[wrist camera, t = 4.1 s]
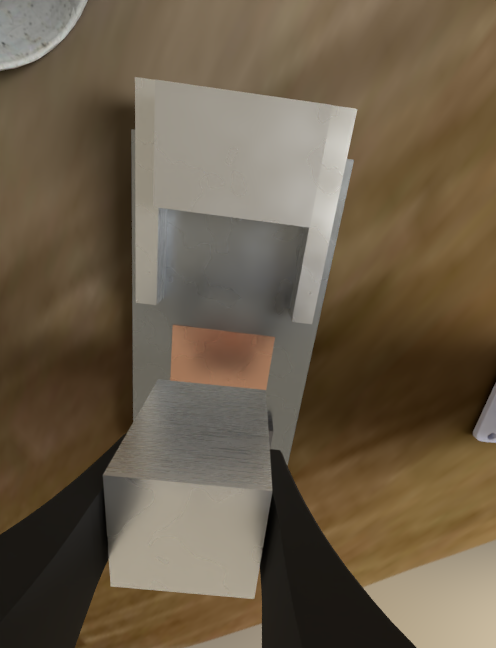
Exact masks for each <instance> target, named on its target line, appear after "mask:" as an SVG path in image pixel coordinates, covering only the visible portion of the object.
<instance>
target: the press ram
mask: <svg viewBox="0 0 496 648" xmlns="http://www.w3.org/2000/svg"><path fill="white" fill-rule="evenodd" d="M332 106H333V105H329V104H322V103H315V102H308V101H301V100H294V99H287V98H280V97H273V96H266V95H259V94H252V93H245V92H238V91H231V90H224V89H217V88H210V87H203V86H196V85H189V84H182V83H175V82H169V81H162V80H155V118H154V180H153V207H157V208H165V209H172V210H180V211H187V212H195V213H203V214H210V215H218V216H225V217H233V218H240V219H248V220H256V221H263V222H271V223H278V224H286V225H294V226H301V227H309V228H310V224H311V219H312V213H313V208H314V202H315V197H316V192H317V186H318V181H319V175H320V170H321V165H322V159H323V154H324V149H325V143H326V138H327V132H328V127H329V122H330V116H331V111H332Z"/></svg>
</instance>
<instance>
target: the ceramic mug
mask: <svg viewBox="0 0 496 648" xmlns="http://www.w3.org/2000/svg"><path fill="white" fill-rule="evenodd" d="M87 1H88V0H0V71H3V70H8V69H16V68H18V67H21V66H23V65H26V64H29V63H32V62H34V61H36V60H38V59H40V58H41V57H43V56H44V55H46V54H47V53H49V52H50V51H52V50H53V49H54V48H55V47H56V46H57V45H58V44H59V43H60V42H61V41H62V40H63V39H64V38H65V37H66V36H67V35H68V34H69V32H70V31H71V30H72V29H73V27H74V26H75V24H76V22H77V21H78V19H79V18H80V16H81V14H82V12H83V10H84V8H85V5H86V3H87Z"/></svg>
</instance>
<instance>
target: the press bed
mask: <svg viewBox="0 0 496 648" xmlns="http://www.w3.org/2000/svg"><path fill="white" fill-rule="evenodd" d="M356 113H357V109H354V108H347V107H340V106H332V111H331V116H330V122H329V127H328V132H327V138H326V143H325V149H324V154H323V159H322V165H321V170H320V175H319V181H318V186H317V192H316V197H315V202H314V208H313V213H312V219H311V224H310V228H309V227H301V226H294V225H286V224H278V223H271V222H263V221H256V220H248V219H240V218H233V217H225V216H218V215H210V214H203V213H195V212H187V211H180V210H172V209H165V208H157V207H153V180H154V118H155V80H152V79H145V78H138V77H135V130H134V129H131V155H132V316H133V422H134V420H135V418H136V417H137V415H138V413H139V411H140V410H141V408H142V406H143V404H144V403H145V401H146V399H147V398H148V396H149V394H150V392H151V391H152V389H153V387H154V385H155V384H156V382H157V380H158V379H160V380H170V381H180V382H190V383H200V384H211V385H221V386H231V387H241V388H251V389H261V390H266V399H267V415H268V430H269V446H270V449H275V450H280V451H281V452H282V454H283V456H284V459H285V462H286V464H287V465H288V461H289V456H290V451H291V447H292V442H293V438H294V433H295V428H296V424H297V419H298V415H299V410H300V405H301V401H302V396H303V392H304V387H305V382H306V378H307V373H308V369H309V364H310V360H311V355H312V350H313V346H314V341H315V337H316V332H317V327H318V323H319V318H320V314H321V309H322V304H323V300H324V295H325V291H326V286H327V281H328V277H329V272H330V268H331V263H332V258H333V254H334V249H335V245H336V240H337V235H338V231H339V226H340V222H341V217H342V212H343V208H344V203H345V199H346V194H347V189H348V185H349V180H350V176H351V171H352V166H353V162H354V160H350V159H347V155H348V151H349V146H350V141H351V136H352V132H353V127H354V122H355V117H356Z"/></svg>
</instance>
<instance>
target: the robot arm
mask: <svg viewBox="0 0 496 648" xmlns="http://www.w3.org/2000/svg"><path fill="white" fill-rule="evenodd" d="M126 434H127V433H126ZM126 434H124V435H123V436H122V437H121V438H120V439H119V440H118V441H117V442H116V443H115V444H114V445H113V446H112V447H111V448H110V449H109V450H108V451H107V452H105V453H104V454H103V455H102V456H101V457H100V458H99V459H98V460H97V461H96V462H95V463H93V464H92V465H91V466H90V467H89V468H88V469H87V470H86V471H85V472H83V473H82V474H81V475H80V476H79V477H78V478H77V479H75V480H74V481H73V482H72V483H70V484H69V485H68V486H67V487H66V488H64V489H63V490H62V491H61V492H59V493H58V494H57V495H56V496H54V497H53V498H52V499H51V500H49V501H48V502H47V503H45V504H44V505H43V506H41V507H40V508H39V509H37V510H36V511H34V512H33V513H32V514H30V515H29V516H28V517H26V518H25V519H23V520H22V521H20V522H19V523H17V524H16V525H14V526H13V527H11V528H10V529H8V530H7V531H5V532H4V533H2V534H1V535H0V648H75V645H76V642H77V639H78V636H79V634H80V631H81V628H82V625H83V622H84V619H85V617H86V614H87V611H88V608H89V606H90V603H91V600H92V597H93V594H94V592H95V589H96V586H97V584H98V581H99V579H100V577H101V574H102V572H103V569H104V567H105V565H106V563H107V561H108V558H109V554H108V540H107V526H106V512H105V499H104V485H103V474H104V472H105V470H106V469H107V467H108V465H109V464H110V462H111V460H112V458H113V457H114V455H115V453H116V451H117V450H118V448H119V446H120V444H121V443H122V441H123V439H124V437H125V436H126ZM489 434H490V435H489ZM473 436H474V437H475V438H476V439H477V440H478V441H483V442H492V443H496V383H495V385H494V388H493V390H492V392H491V394H490V396H489V398H488V400H487V403H486V405H485V407H484V409H483V411H482V413H481V416H480V418H479V420H478V422H477V424H476V426H475V428H474V431H473ZM270 461H271V477H272V497H271V503H270V508H269V514H268V520H267V526H266V532H265V538H264V544H263V550H262V555H261V561H260V574H261V588H262V648H416V647H415V646H414V645H413V643H412V642H411V641H410V640H409V639H408V638H407V637H406V636H405V635H404V634H403V633H402V632H401V631H400V630H399V629H398V628H397V627H396V626H395V625H394V624H393V623H392V622H391V621H390V619H389V618H388V617H387V616H386V615H385V614H384V613H383V611H382V610H381V609H380V608H379V607H378V606H377V605H376V603H375V602H374V601H373V600H372V599H371V597H370V596H369V595H368V594H367V592H366V591H365V590H364V589H363V587H362V586H361V585H360V584H359V582H358V581H357V580H356V579H355V577H354V576H353V575H352V574H351V572H350V571H349V570H348V569H347V567H346V566H345V565H344V563H343V562H342V560H341V559H340V558H339V556H338V555H337V553H336V552H335V551H334V549H333V548H332V546H331V545H330V543H329V542H328V540H327V539H326V537H325V536H324V534H323V533H322V531H321V529H320V528H319V526H318V524H317V523H316V521H315V519H314V518H313V516H312V514H311V513H310V511H309V509H308V507H307V505H306V504H305V502H304V500H303V498H302V496H301V494H300V492H299V490H298V488H297V486H296V484H295V482H294V480H293V478H292V475H291V473H290V471H289V469H288V466H287V464H286V462H285V459H284V456H283V454H282V452H281V451H280V450H275V449H270Z"/></svg>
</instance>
